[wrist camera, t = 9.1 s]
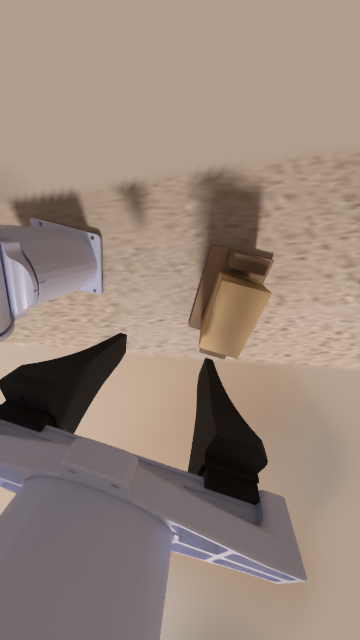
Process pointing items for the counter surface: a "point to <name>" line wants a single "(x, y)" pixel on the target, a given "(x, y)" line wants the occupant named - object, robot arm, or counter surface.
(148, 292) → the counter surface
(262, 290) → the block
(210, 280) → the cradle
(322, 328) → the counter surface
